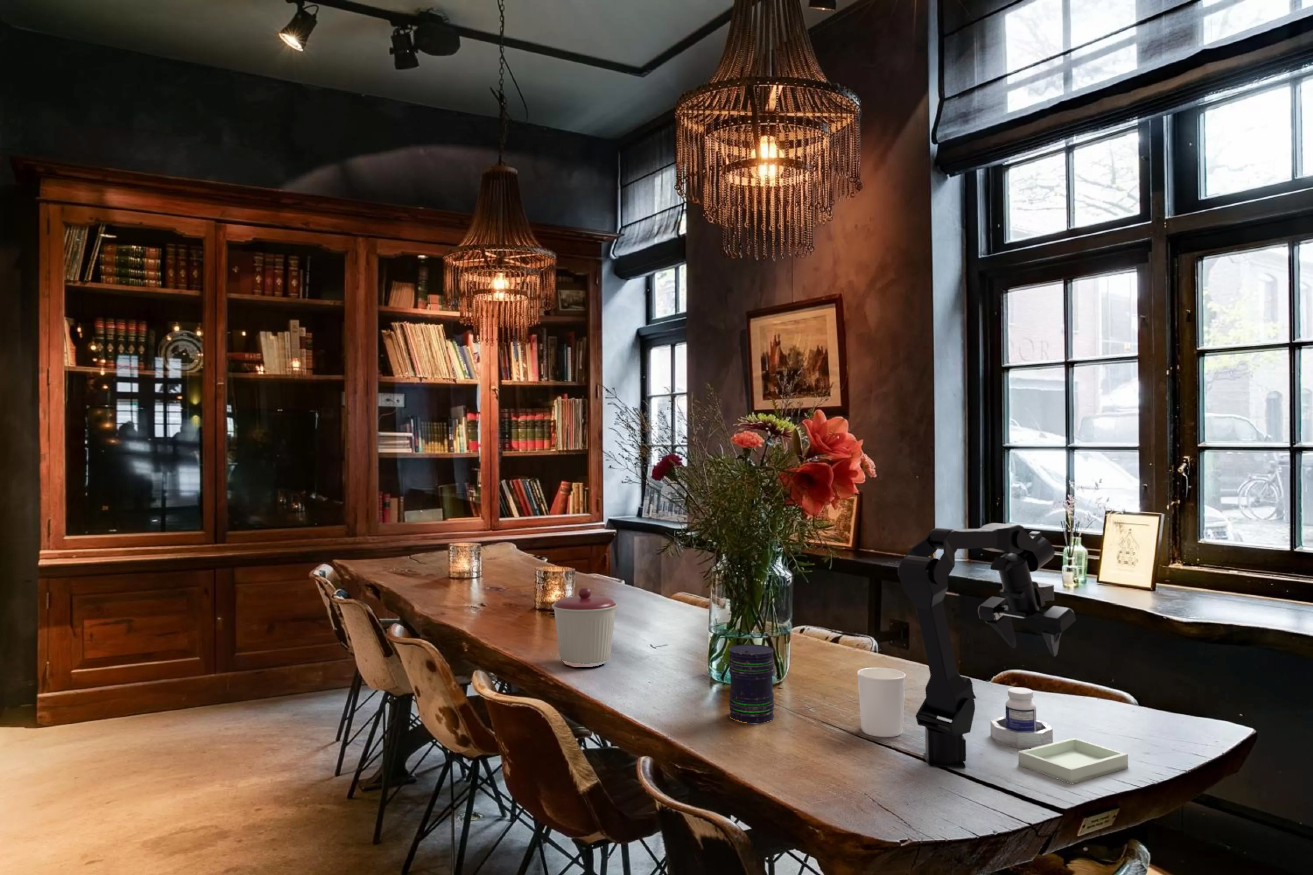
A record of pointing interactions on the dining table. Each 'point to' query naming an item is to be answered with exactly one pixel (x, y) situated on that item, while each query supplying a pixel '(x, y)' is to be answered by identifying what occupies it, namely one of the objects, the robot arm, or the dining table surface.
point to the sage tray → (1073, 760)
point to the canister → (584, 627)
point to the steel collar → (1021, 734)
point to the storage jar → (751, 683)
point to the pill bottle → (1020, 710)
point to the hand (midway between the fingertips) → (1034, 651)
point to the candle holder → (881, 701)
